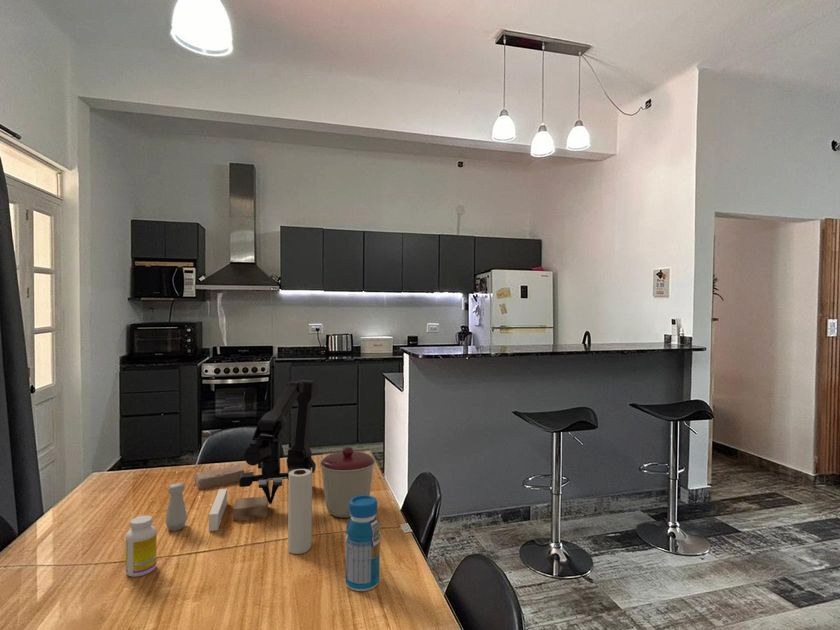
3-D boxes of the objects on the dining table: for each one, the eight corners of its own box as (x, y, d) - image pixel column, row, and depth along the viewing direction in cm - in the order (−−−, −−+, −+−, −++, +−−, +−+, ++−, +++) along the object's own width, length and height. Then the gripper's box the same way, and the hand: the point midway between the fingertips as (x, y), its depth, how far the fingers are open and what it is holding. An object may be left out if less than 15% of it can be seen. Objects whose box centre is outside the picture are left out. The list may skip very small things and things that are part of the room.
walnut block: (267, 507, 155) (268, 495, 155) (267, 518, 147) (267, 505, 147) (235, 511, 152) (235, 498, 152) (233, 521, 144) (233, 509, 144)
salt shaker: (191, 525, 141) (191, 482, 141) (174, 533, 135) (174, 489, 135) (178, 521, 143) (178, 479, 143) (161, 529, 138) (161, 486, 138)
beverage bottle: (350, 596, 106) (350, 509, 106) (341, 577, 114) (341, 496, 114) (384, 588, 110) (385, 504, 110) (373, 569, 118) (374, 491, 117)
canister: (316, 503, 158) (317, 441, 157) (368, 497, 163) (369, 437, 163) (322, 527, 140) (322, 457, 140) (380, 519, 146) (381, 452, 146)
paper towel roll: (290, 557, 123) (291, 476, 123) (285, 546, 129) (286, 469, 128) (317, 550, 127) (317, 472, 126) (311, 541, 132) (312, 466, 132)
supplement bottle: (162, 566, 118) (162, 516, 118) (139, 580, 112) (139, 527, 112) (143, 561, 120) (143, 512, 120) (119, 574, 114) (119, 522, 114)
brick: (198, 490, 168) (198, 477, 168) (193, 483, 175) (194, 471, 175) (245, 481, 178) (245, 469, 178) (239, 475, 185) (239, 463, 185)
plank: (227, 503, 157) (227, 488, 157) (217, 530, 138) (218, 513, 138) (219, 504, 156) (219, 489, 156) (208, 531, 137) (208, 514, 137)
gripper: (299, 446, 161) (299, 491, 161) (242, 450, 156) (242, 496, 156) (300, 456, 151) (300, 504, 151) (239, 461, 145) (238, 510, 146)
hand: (270, 503), depth 151 cm, fingers closed
